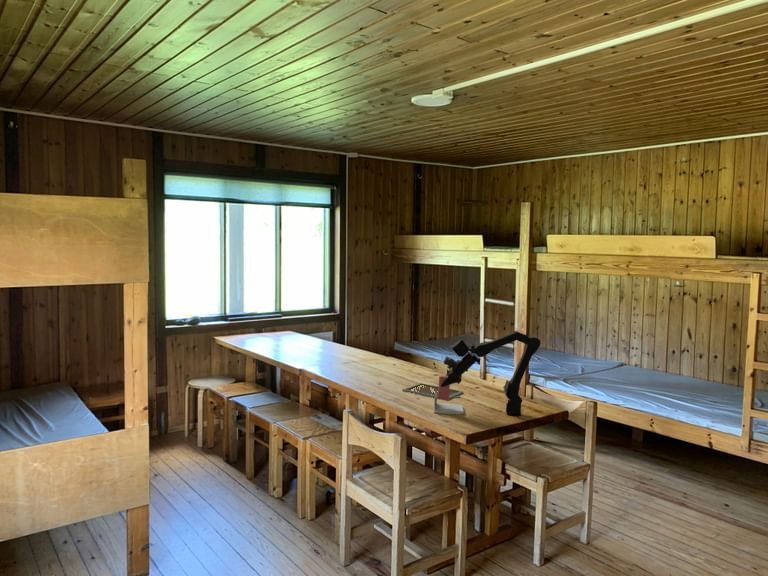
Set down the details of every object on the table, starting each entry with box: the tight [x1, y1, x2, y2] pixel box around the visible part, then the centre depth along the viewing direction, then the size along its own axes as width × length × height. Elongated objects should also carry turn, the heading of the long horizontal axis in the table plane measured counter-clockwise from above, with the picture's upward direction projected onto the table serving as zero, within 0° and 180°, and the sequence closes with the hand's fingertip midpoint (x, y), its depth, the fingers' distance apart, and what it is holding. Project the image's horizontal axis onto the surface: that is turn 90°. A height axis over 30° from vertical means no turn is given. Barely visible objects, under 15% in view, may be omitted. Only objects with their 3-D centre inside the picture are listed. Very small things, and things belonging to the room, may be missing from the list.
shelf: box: [433, 391, 465, 415], centre depth 277 cm, size 14×12×8 cm
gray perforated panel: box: [401, 382, 464, 402], centre depth 309 cm, size 19×2×30 cm
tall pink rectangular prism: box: [437, 374, 451, 401], centre depth 275 cm, size 5×4×11 cm
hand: (441, 385), depth 275 cm, fingers closed on tall pink rectangular prism, 4 cm apart
